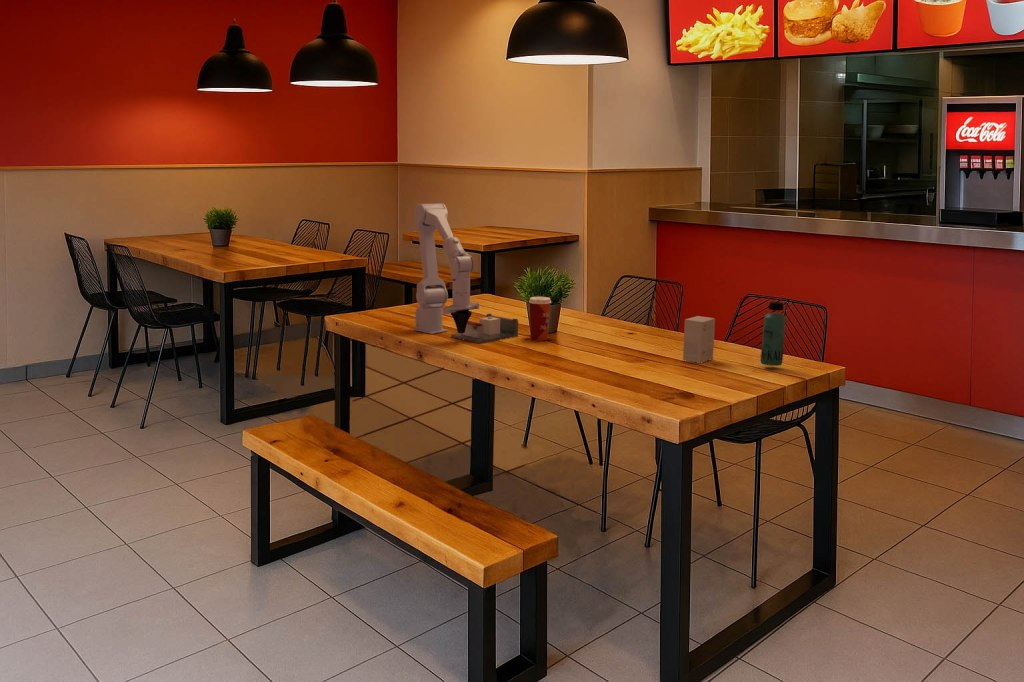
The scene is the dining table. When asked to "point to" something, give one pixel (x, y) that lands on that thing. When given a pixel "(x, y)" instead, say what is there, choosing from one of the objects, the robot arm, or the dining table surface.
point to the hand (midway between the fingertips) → (461, 332)
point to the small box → (698, 339)
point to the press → (506, 331)
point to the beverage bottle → (773, 336)
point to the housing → (490, 325)
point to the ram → (474, 330)
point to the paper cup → (539, 317)
